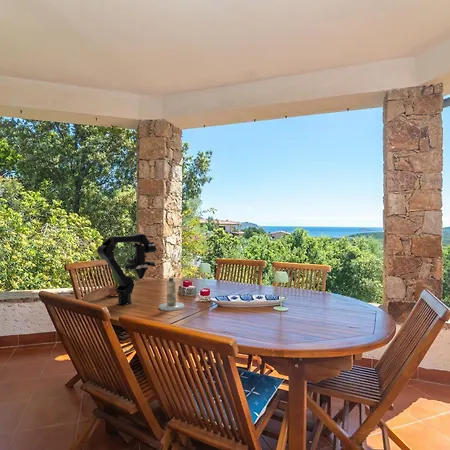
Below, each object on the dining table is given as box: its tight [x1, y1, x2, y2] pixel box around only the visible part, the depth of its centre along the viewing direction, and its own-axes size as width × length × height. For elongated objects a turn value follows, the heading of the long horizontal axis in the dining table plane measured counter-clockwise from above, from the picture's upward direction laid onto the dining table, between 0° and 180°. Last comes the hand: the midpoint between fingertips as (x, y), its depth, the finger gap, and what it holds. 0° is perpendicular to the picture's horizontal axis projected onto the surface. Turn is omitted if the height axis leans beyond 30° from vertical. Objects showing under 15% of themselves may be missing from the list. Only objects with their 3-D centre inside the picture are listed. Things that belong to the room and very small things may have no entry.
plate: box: [158, 301, 185, 312], centre depth 189 cm, size 14×14×1 cm
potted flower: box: [107, 264, 122, 297], centre depth 222 cm, size 12×10×25 cm
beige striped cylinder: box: [166, 277, 177, 306], centre depth 189 cm, size 5×5×16 cm
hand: (140, 279), depth 208 cm, fingers closed
